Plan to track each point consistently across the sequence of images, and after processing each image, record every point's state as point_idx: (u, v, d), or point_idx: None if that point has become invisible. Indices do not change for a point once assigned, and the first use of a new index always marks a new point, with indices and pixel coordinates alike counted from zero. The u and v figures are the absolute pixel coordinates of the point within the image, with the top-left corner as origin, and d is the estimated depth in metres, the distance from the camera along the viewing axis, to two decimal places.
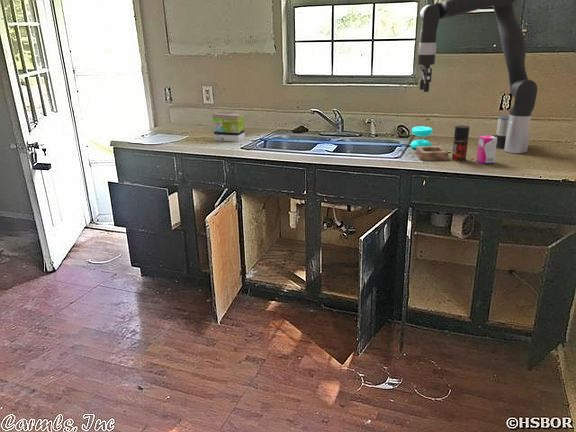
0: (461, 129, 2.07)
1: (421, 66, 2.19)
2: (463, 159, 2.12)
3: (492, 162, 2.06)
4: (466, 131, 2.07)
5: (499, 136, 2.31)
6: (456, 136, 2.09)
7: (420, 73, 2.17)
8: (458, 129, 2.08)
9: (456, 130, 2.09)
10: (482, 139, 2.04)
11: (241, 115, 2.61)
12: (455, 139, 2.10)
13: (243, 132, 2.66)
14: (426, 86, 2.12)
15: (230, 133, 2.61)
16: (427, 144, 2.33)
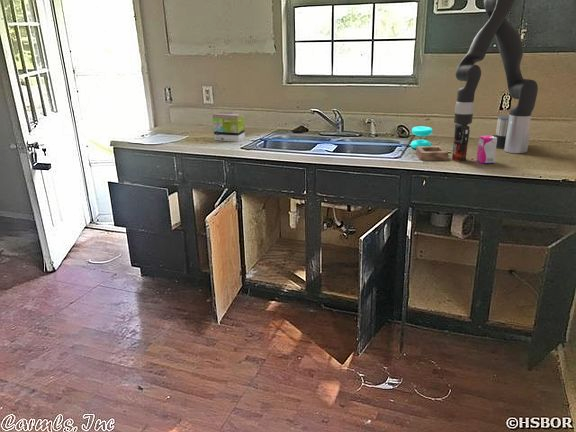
0: None
1: (456, 124, 2.15)
2: (463, 159, 2.12)
3: (492, 162, 2.06)
4: None
5: (498, 136, 2.31)
6: (456, 136, 2.09)
7: None
8: (458, 129, 2.08)
9: (456, 130, 2.09)
10: (482, 139, 2.04)
11: (241, 115, 2.61)
12: (455, 139, 2.10)
13: (243, 132, 2.66)
14: (462, 146, 2.08)
15: (230, 133, 2.61)
16: (427, 144, 2.33)
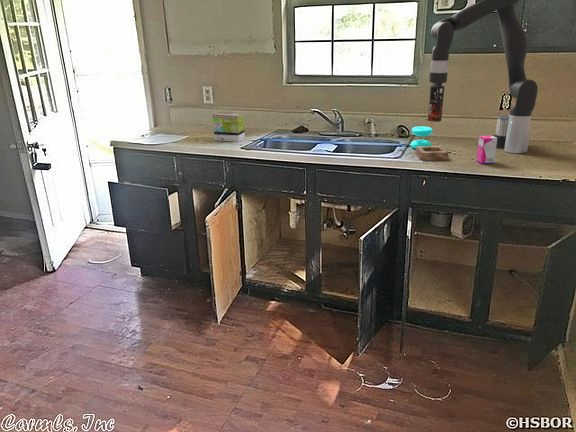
0: None
1: (432, 85, 2.14)
2: (438, 119, 2.12)
3: (492, 162, 2.06)
4: None
5: (498, 136, 2.31)
6: (431, 96, 2.09)
7: None
8: (433, 88, 2.07)
9: (431, 90, 2.08)
10: (482, 139, 2.04)
11: (241, 115, 2.61)
12: (430, 99, 2.10)
13: (243, 132, 2.66)
14: (437, 106, 2.08)
15: (230, 133, 2.61)
16: (427, 144, 2.33)
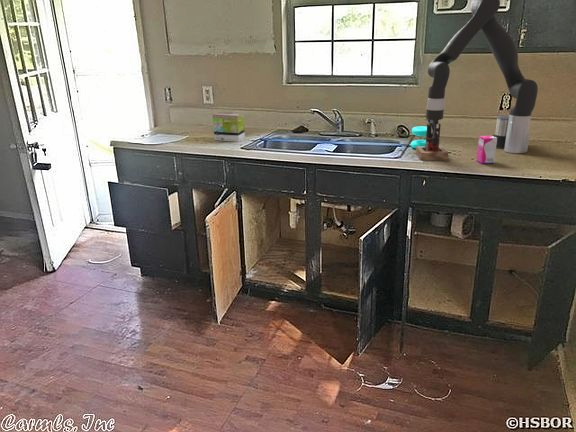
0: (432, 127, 2.13)
1: None
2: None
3: (492, 162, 2.06)
4: None
5: (498, 136, 2.31)
6: (428, 134, 2.16)
7: None
8: (429, 127, 2.14)
9: (428, 128, 2.15)
10: (482, 139, 2.04)
11: (241, 115, 2.61)
12: (427, 136, 2.16)
13: (243, 132, 2.66)
14: (434, 141, 2.13)
15: (230, 133, 2.61)
16: None
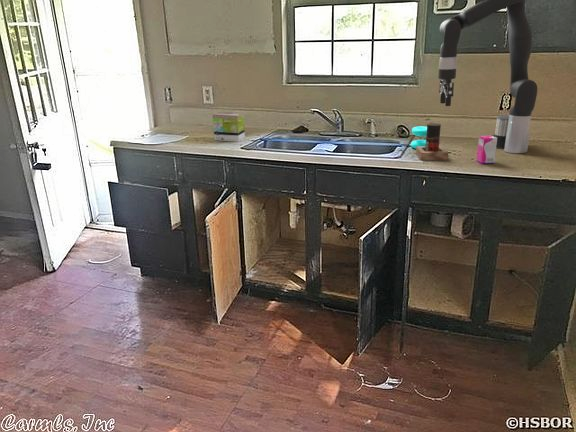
0: (432, 127, 2.13)
1: (441, 80, 2.19)
2: None
3: (492, 162, 2.06)
4: (437, 129, 2.13)
5: (497, 136, 2.31)
6: (428, 134, 2.16)
7: (441, 87, 2.16)
8: (430, 127, 2.14)
9: (428, 128, 2.15)
10: (482, 139, 2.04)
11: (241, 115, 2.61)
12: (427, 136, 2.16)
13: (243, 132, 2.66)
14: (448, 100, 2.11)
15: (230, 133, 2.61)
16: None
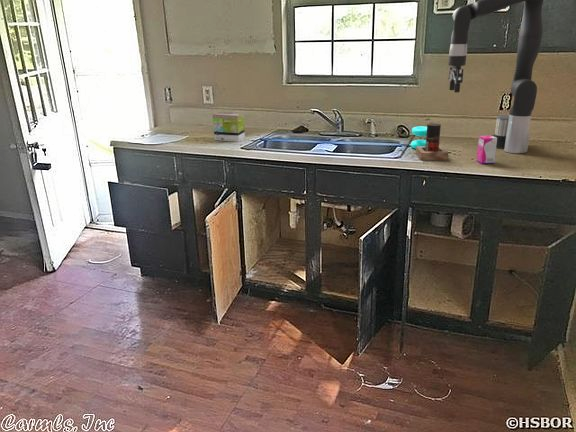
0: (432, 127, 2.13)
1: (451, 67, 2.23)
2: None
3: (492, 162, 2.06)
4: (437, 129, 2.13)
5: (497, 136, 2.31)
6: (428, 134, 2.16)
7: (450, 74, 2.20)
8: (430, 127, 2.14)
9: (428, 128, 2.15)
10: (482, 139, 2.04)
11: (241, 115, 2.61)
12: (427, 136, 2.16)
13: (243, 132, 2.66)
14: (457, 87, 2.15)
15: (230, 133, 2.61)
16: None
